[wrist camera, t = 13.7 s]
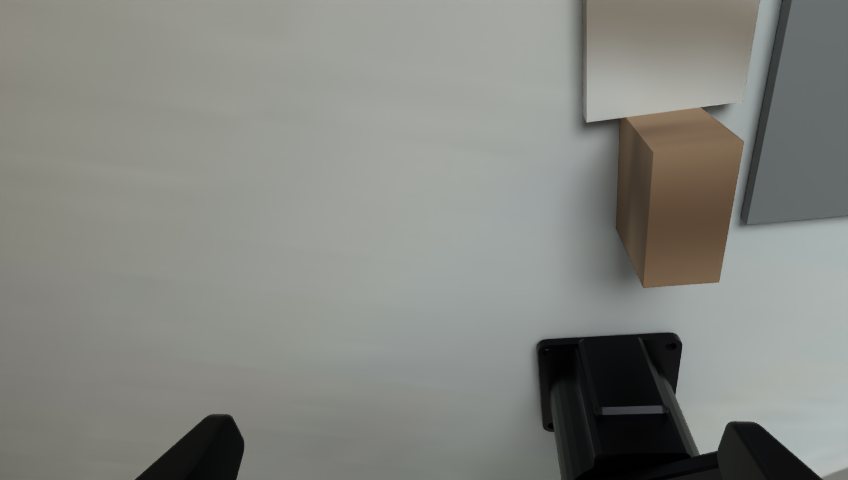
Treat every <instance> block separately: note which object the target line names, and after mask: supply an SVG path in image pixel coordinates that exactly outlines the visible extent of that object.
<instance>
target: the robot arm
mask: <svg viewBox="0 0 848 480" xmlns="http://www.w3.org/2000/svg"><path fill="white" fill-rule="evenodd" d="M668 343H671V344H668ZM667 344H668V345H667ZM546 349H551V350H548V351H546ZM681 352H682V342H681V340H680V338H679V337H678V335H677V334H674V333H653V334H635V335H616V336H598V337H580V338H562V339H546V340H542V341H541V342H539V343H538V345H537V354H538V368H539V382H540V396H541V410H542V422H543V427H544V429H545V430H547V431H550V432H555V439H556V446H557V453H558V460H559V467H560V473H561V480H823V479H821V478H820V477H819V476H818V475H817V474H816V473H815V472H813V471H812V470H811V469H810V468H809V467H808V466H807V465H805V464H804V463H803V462H802V461H801V460H800V459H798V458H797V457H796V456H795V455H794V454H793V453H792V452H790V451H789V450H788V449H787V448H786V447H785V446H784V445H782V444H781V443H780V442H779V441H778V440H777V439H776V438H774V437H773V436H772V435H771V434H770V433H769V432H767V431H766V430H765V429H764V428H763V427H762V426H760V425H759V424H757V423H755V422H738V421H732V422H730V423H728V424H727V426H726V428H725V431H724V433H723V436H722V439H721V442H720V445H719V448H718V451H715V452H711V453H706V454H702V455H700V454H699V452H698V449H697V447H696V445H695V442H694V440H693V437H692V435H691V433H690V430H689V428H688V426H687V423H686V421H685V418H684V416H683V414H682V411H681V409H680V406H679V404H678V402H677V399H676V397H675V394H676V387H677V380H678V373H679V366H680V359H681ZM243 453H244V440H243V437H242V435H241V433H240V431H239V429H238V427H237V425H236V423H235V421H234V419H233V417H232V416H230V415H228V414H212V415H209V416H207V417H206V418H204V419H203V420H202V421H201V422H200V423H199V424H197V425H196V426H195V427H194V428H193V429H192V430H191V431H189V432H188V433H187V434H186V435H185V436H184V437H183V438H182V439H180V440H179V441H178V442H177V443H176V444H175V445H174V446H172V447H171V448H170V449H169V450H168V451H167V452H166V453H165V454H163V455H162V456H161V457H160V458H159V459H158V460H157V461H155V462H154V463H153V464H152V465H151V466H150V467H149V468H148V469H146V470H145V471H144V472H143V473H142V474H141V475H140V476H139V477H137V478H136V479H135V480H236V479H237V475H238V471H239V468H240V464H241V460H242V457H243Z"/></svg>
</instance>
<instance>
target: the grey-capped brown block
mask: <svg viewBox="0 0 848 480" xmlns="http://www.w3.org/2000/svg"><path fill="white" fill-rule="evenodd" d="M759 3H760V0H582V24H583V116H584V118H585V120H586V122H594V121H601V120H609V119H616V118H620V134H619V161H618V189H617V216H616V229H617V232H618V234H619V236H620V238H621V240H622V243H623V245H624V247H625V249H626V251H627V253H628V256H629V258H630V260H631V262H632V264H633V267H634V269H635V271H636V273H637V275H638V278H639V280H640V282H641V284H642V286H643V288H647V287H661V286H675V285H689V284H702V283H716V282H719V280H720V274H721V269H722V263H723V257H724V252H725V246H726V241H727V235H728V229H729V224H730V218H731V212H732V207H733V201H734V196H735V190H736V184H737V179H738V173H739V168H740V162H741V156H742V151H743V145H744V141H743V140H742V139H740V138H739V137H738V136H737V135H735V134H734V133H733V132H731V131H730V130H729V129H728V128H726V127H725V126H724V125H723V124H721V123H720V122H719V121H717V120H716V119H715V118H714V117H712V116H711V115H710V114H709V113H707V112H706V111H705V110H703V109H702V108H701V107H706V106H714V105H721V104H729V103H736V102H743V98H744V92H745V86H746V80H747V74H748V68H749V62H750V56H751V51H752V45H753V39H754V33H755V27H756V21H757V15H758V9H759Z"/></svg>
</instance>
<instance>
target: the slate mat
mask: <svg viewBox="0 0 848 480" xmlns="http://www.w3.org/2000/svg"><path fill="white" fill-rule="evenodd" d="M838 216H848V0H783V2H782V8H781V13H780V18H779V23H778V28H777V34H776V39H775V44H774V49H773V54H772V59H771V65H770V70H769V75H768V80H767V85H766V91H765V96H764V101H763V106H762V111H761V116H760V122H759V127H758V132H757V137H756V142H755V148H754V153H753V158H752V163H751V168H750V173H749V179H748V184H747V189H746V194H745V199H744V205H743V210H742V215H741V219H742V220H743V221H744V222H745V223H746V225H749V224H760V223H772V222H783V221H794V220H805V219H816V218H827V217H838Z"/></svg>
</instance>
